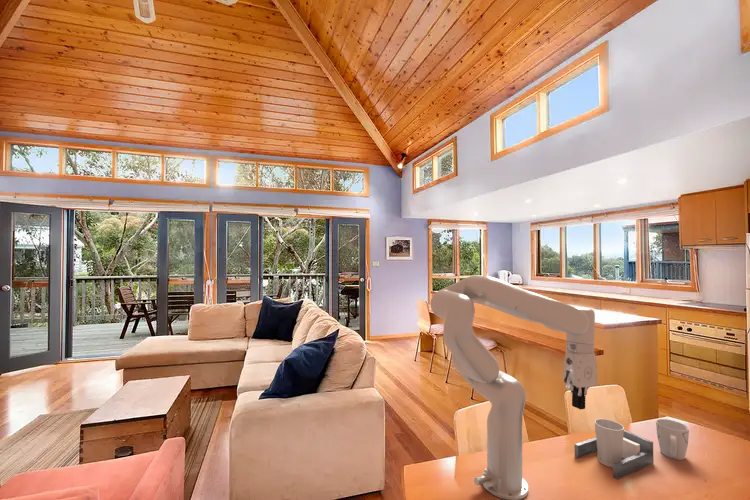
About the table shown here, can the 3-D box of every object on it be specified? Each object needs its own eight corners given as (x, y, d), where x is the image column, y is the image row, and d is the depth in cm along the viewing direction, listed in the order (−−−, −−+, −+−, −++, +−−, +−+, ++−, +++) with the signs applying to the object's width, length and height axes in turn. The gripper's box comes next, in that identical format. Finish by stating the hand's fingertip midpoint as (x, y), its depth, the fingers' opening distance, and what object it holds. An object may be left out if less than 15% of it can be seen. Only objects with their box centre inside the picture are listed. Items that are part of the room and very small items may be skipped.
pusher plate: (637, 464, 111) (636, 445, 111) (605, 449, 120) (604, 431, 120) (640, 463, 111) (639, 444, 112) (607, 448, 121) (607, 430, 121)
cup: (617, 456, 116) (617, 420, 116) (629, 470, 108) (629, 431, 108) (590, 453, 117) (590, 417, 118) (600, 467, 110) (600, 428, 110)
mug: (691, 469, 109) (691, 437, 109) (657, 459, 114) (656, 429, 114) (687, 453, 118) (687, 423, 118) (655, 445, 123) (655, 416, 123)
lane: (617, 479, 104) (616, 455, 104) (574, 456, 116) (574, 434, 116) (653, 463, 112) (653, 441, 112) (610, 443, 124) (610, 423, 124)
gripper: (575, 352, 101) (574, 416, 101) (607, 348, 108) (606, 409, 107) (552, 346, 108) (551, 406, 107) (583, 343, 114) (582, 399, 114)
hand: (578, 407), depth 107 cm, fingers closed
